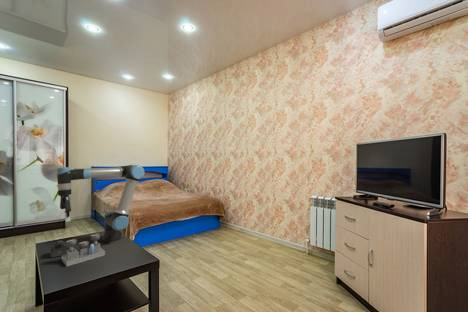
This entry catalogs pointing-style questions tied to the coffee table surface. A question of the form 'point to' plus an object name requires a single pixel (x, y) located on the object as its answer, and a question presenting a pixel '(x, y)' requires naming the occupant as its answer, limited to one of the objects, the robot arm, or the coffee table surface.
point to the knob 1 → (71, 243)
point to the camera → (59, 249)
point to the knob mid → (84, 244)
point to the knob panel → (82, 255)
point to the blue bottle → (91, 248)
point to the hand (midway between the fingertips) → (65, 219)
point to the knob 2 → (95, 238)
